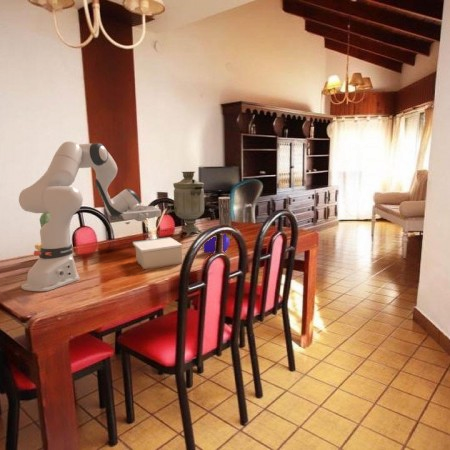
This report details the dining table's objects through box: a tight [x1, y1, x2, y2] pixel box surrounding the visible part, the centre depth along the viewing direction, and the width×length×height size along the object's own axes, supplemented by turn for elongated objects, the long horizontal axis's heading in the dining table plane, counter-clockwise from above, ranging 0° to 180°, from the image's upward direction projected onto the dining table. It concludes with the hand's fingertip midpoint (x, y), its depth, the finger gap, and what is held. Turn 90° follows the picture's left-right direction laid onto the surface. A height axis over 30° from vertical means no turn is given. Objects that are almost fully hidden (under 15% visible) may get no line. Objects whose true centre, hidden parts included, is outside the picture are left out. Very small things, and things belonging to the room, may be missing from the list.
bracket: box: [203, 234, 230, 254], centre depth 194 cm, size 18×11×12 cm, turn 156°
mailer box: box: [135, 246, 183, 270], centre depth 172 cm, size 15×18×8 cm
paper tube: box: [218, 196, 232, 240], centre depth 216 cm, size 7×7×25 cm
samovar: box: [165, 171, 205, 236], centre depth 235 cm, size 30×26×40 cm
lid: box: [132, 236, 183, 252], centre depth 173 cm, size 19×19×1 cm
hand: (145, 216), depth 189 cm, fingers closed
